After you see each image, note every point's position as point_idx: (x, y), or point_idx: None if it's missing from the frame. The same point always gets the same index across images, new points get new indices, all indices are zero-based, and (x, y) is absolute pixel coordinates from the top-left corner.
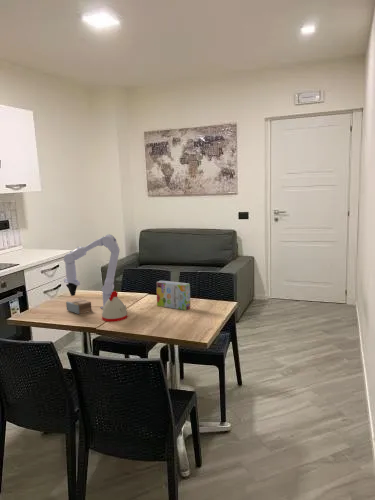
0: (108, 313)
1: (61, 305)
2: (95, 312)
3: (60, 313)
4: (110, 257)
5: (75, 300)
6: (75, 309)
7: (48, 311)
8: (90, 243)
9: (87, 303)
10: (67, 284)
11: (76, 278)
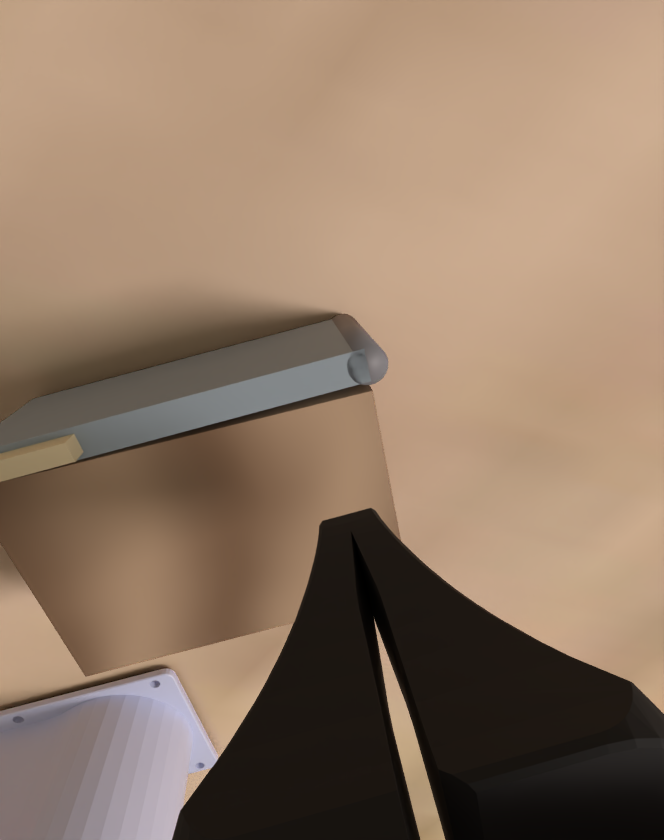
0: None
1: (648, 322)
2: (14, 591)
3: (253, 174)
4: None
5: (347, 511)
6: (74, 401)
7: (520, 18)
8: None
9: (59, 620)
10: (636, 799)
11: None
